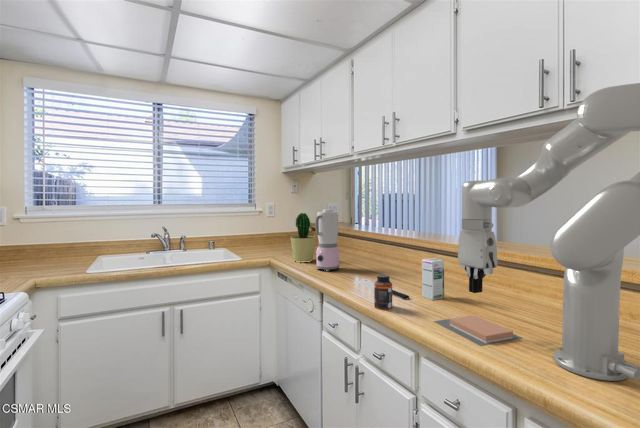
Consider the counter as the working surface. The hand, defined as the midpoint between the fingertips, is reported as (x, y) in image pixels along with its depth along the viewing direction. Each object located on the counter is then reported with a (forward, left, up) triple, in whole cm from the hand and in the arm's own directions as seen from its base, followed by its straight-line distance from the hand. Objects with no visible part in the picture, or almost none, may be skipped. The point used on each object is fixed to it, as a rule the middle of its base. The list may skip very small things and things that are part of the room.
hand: (475, 291), depth 92 cm
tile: (+5, 0, -10) cm, 11 cm away
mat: (0, 0, -11) cm, 11 cm away
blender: (+93, +10, -11) cm, 94 cm away
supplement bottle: (+26, +14, -11) cm, 32 cm away
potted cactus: (+122, +14, -11) cm, 123 cm away
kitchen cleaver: (+48, +4, -12) cm, 49 cm away
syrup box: (+31, -10, -11) cm, 34 cm away
